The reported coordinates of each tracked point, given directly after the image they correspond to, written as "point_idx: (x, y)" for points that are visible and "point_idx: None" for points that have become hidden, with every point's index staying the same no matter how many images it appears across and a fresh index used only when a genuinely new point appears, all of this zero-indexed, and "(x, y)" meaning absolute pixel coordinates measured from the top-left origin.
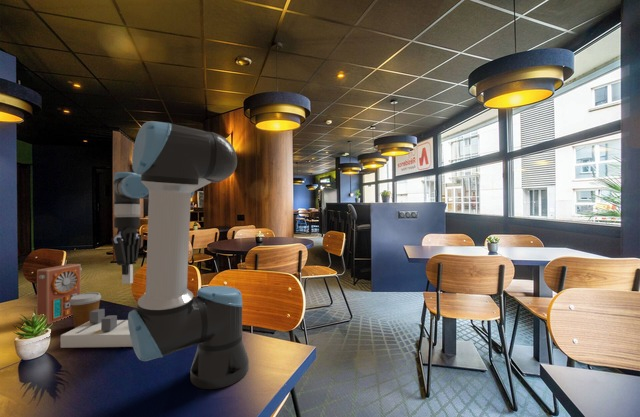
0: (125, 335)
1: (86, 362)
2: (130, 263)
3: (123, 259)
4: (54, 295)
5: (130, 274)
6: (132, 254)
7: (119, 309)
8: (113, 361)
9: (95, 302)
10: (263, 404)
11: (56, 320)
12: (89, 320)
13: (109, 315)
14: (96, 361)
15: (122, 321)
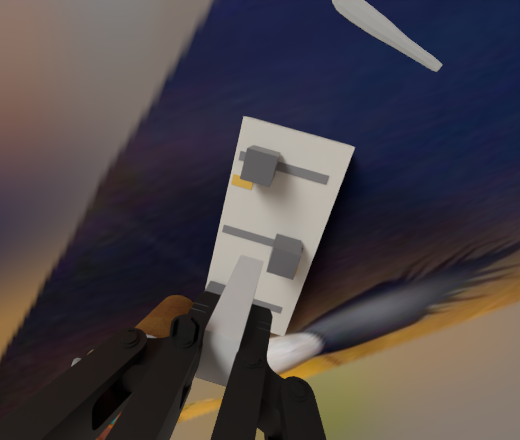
0: (337, 192)
1: (386, 243)
2: (200, 350)
3: (325, 437)
4: (101, 437)
5: (252, 289)
6: (159, 421)
7: (72, 278)
8: (410, 187)
9: (158, 336)
10: None
11: None
12: (186, 313)
13: (267, 267)
14: (391, 224)
15: (230, 232)
